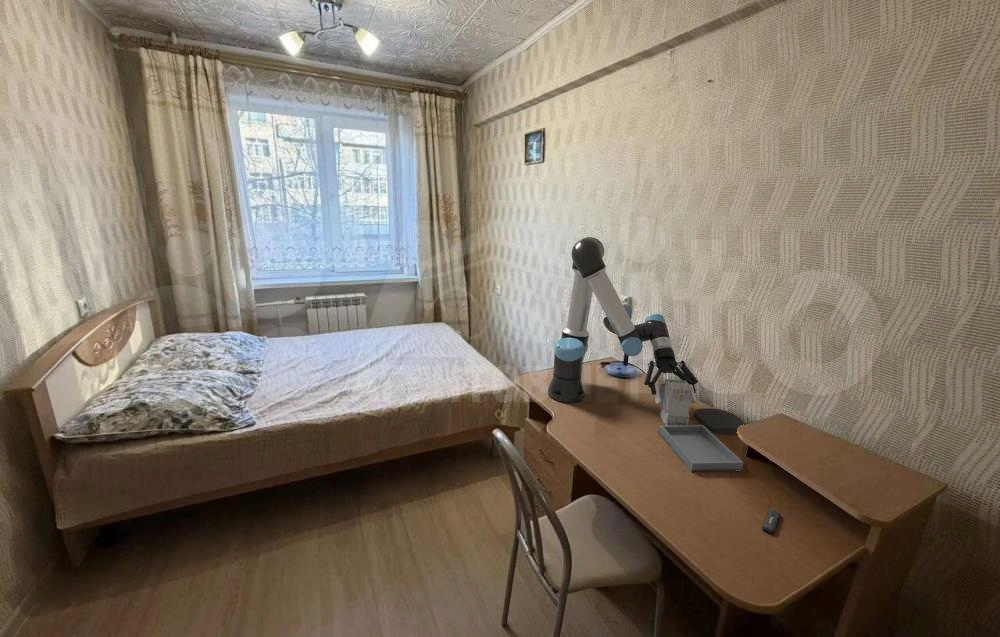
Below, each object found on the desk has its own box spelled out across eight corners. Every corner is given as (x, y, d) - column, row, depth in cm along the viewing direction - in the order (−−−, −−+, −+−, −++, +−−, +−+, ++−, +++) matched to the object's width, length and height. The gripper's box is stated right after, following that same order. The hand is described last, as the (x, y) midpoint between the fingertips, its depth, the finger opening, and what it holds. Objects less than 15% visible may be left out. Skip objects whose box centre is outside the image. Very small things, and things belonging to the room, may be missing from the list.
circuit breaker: (674, 409, 161) (680, 374, 157) (687, 427, 147) (693, 389, 143) (655, 407, 162) (660, 372, 158) (666, 426, 148) (671, 388, 144)
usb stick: (769, 512, 107) (770, 507, 106) (780, 517, 105) (782, 512, 105) (760, 531, 100) (761, 526, 100) (773, 537, 98) (774, 532, 98)
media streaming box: (708, 434, 144) (710, 426, 143) (689, 414, 158) (690, 407, 157) (749, 435, 144) (751, 427, 143) (726, 414, 158) (728, 408, 157)
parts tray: (658, 433, 143) (659, 425, 142) (701, 432, 144) (703, 424, 143) (691, 472, 122) (692, 463, 121) (741, 470, 123) (743, 462, 122)
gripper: (635, 346, 157) (647, 399, 146) (697, 346, 159) (713, 398, 148) (629, 354, 163) (640, 406, 153) (688, 354, 165) (703, 405, 155)
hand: (676, 402), depth 150 cm, fingers open, 13 cm apart
